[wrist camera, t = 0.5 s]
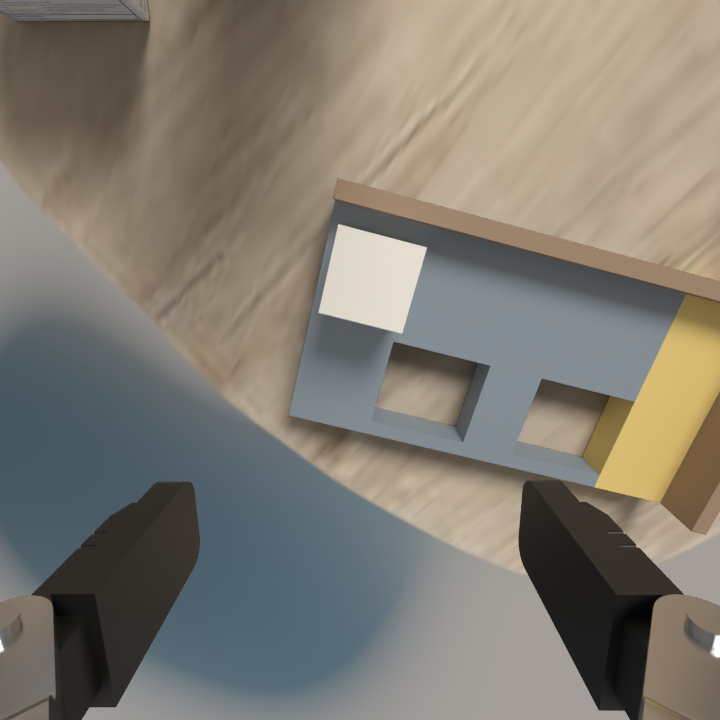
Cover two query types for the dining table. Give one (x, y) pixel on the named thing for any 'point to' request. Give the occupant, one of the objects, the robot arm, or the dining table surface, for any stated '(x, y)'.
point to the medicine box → (75, 10)
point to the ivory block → (371, 278)
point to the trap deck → (534, 352)
